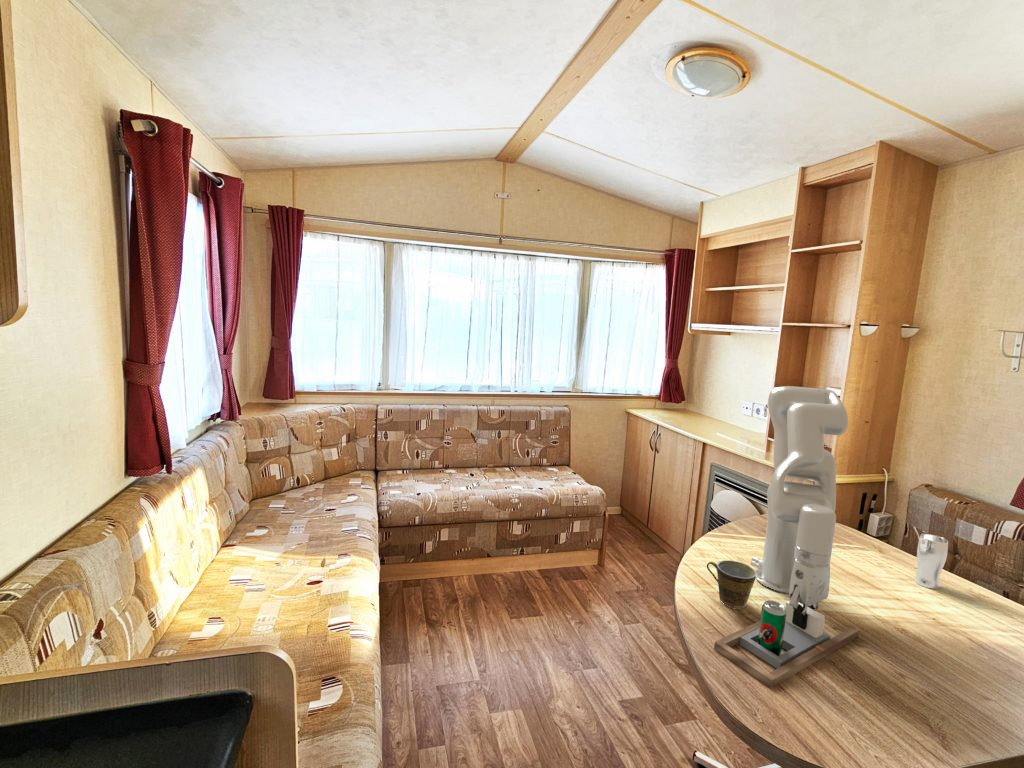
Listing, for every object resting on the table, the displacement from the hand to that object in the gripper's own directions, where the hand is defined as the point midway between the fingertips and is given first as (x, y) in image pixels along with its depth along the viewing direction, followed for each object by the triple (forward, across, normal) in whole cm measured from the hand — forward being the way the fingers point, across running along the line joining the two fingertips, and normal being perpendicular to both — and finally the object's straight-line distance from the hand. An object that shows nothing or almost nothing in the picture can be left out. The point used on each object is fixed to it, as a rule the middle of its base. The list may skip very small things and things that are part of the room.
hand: (803, 623), depth 123 cm
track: (+3, -5, 0) cm, 6 cm away
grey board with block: (+3, -8, 0) cm, 8 cm away
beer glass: (+3, +63, -4) cm, 63 cm away
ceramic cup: (+3, -3, +19) cm, 20 cm away
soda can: (+3, -14, 0) cm, 14 cm away
